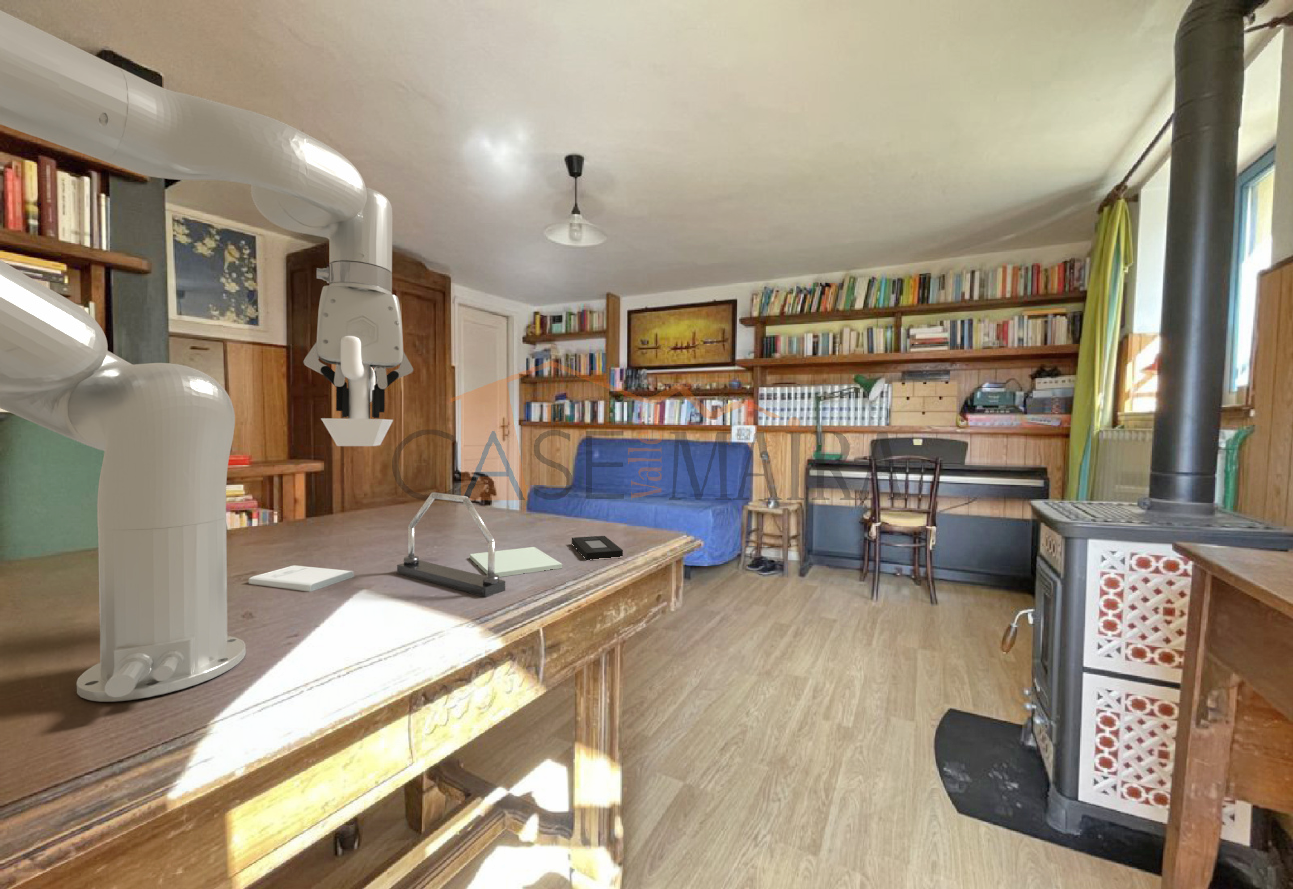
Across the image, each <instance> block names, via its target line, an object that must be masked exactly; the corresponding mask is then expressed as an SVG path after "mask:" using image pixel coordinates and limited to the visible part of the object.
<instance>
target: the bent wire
mask: <svg viewBox="0 0 1293 889" xmlns="http://www.w3.org/2000/svg"><path fill="white" fill-rule="evenodd" d="M435 499H436V500H443V501H450V502H451V501H452V502H457V503H463V504H464V506H465V507H466V509H467V510H468V512H469V514H470V515H471V517H472V519H473V521H474V522H475V524H476V526H477V527H478V529H479V531H480V532H481V534H482V535H483V537H484V538H485V540H486V541H487V552H488V575H487V574H486V575H485V574H483V575H482V574H478V573H474V572H471V571H466V570H462V569H457V568H453V567H448V566H446V565H440V564H437V563H433V562H428V561H423V560H420V557H419V556H418V555H415V536H416V535H415V533H416V532H415V527H416V526H417V525H418V523H419V522H420V521H421V518H423V516H424V515H425V513H426V512H427V510H428V509H429V508H430V506H431V505H432V503H433V502H434V501H435ZM407 528H408V529H407V531H408V532H407V533H408V534H407V536H408V537H407V539H408V540H407V542H408V543H407V544H408V545H407V548H408V549H407V556H405V557H403V563H399V564H397V565H396V573H397V574H398V575H402V576H406V577H409V578H413V579H417V580H420V581H424V582H428V583H432V584H435V585H439V586H443V587H446V588H450V589H453V590H457V591H461V592H463V593H464V592H465V593H467V594H472V595H475V596H476V595H477V596H479V597H483V598H487V597H490V596H493V595H495V594H499V593H501V592H504V591H506V580H504V579H500V577H499V575H496V574H495V551H496V550H495V549H496V548H495V546H496V544H495V543H496V540H495V538H494V537H493V535H492V534H491V532H490V530H489V529H488V527H487V525H486V524H485V523H484V520H483V519H482V517H481V516H480V514H479V512H478V511H477V510H476V508H475V506H474V505H473V502H472V501H471V500H470V498H469V497H468V496H466V495H460V494H459V495H457V494H449V493H442V492H441V493H440V492H431V493H430V495H429V496H428V497H427V499H426V500H425V501H424V503H423V504H422V506H421V507H420V509H419V510H418V511H417V513H416V514H415V516H414V517H413V519H412V520H411V521H410V523H409V524H408V527H407Z"/></svg>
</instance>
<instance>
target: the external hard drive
mask: <svg viewBox="0 0 1293 889" xmlns="http://www.w3.org/2000/svg"><path fill="white" fill-rule="evenodd" d="M354 576H355V574H354V570H343V569H334V568H324V567H315V566H314V567H313V566H304V565H295V564H294V565H290V566H286V567H282V568H279V569H275V570H272V571H269V572H265V573H260V574H256V575H253V576H251V577H249V578H248V585H255V586H261V587H262V586H263V587H269V588H270V587H271V588H272V587H273V588H279V589H285V590H295V591H302V592H313V591H317V590H319V589H323V588H325V587H328V586H331V585H334V584H337V583H340V582H344V581H345V580H348V579H352V578H354Z"/></svg>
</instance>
